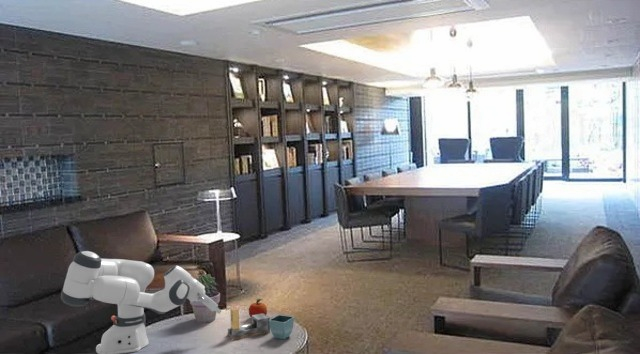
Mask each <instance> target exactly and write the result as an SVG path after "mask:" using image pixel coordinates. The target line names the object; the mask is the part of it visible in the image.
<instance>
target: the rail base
mask: <svg viewBox="0 0 640 354" xmlns="http://www.w3.org/2000/svg"><path fill="white" fill-rule="evenodd" d="M270 319H271V318H270V317H269V316H268V315H267V314H266V315H265V314H263V313H262V314H256V315H252V318H251V324H253V329H248V330H243V329H242V330H237V331H232V332H231V327H228V328H227V336H228V337H230V338H231V339H232V341H236V340H239V339H245V338H249V337H250V338H251V337H253V336H259V335H264V334H269V333H271V329H270V324H269V320H270Z"/></svg>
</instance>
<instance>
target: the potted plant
mask: <svg viewBox="0 0 640 354" xmlns="http://www.w3.org/2000/svg"><path fill="white" fill-rule="evenodd" d="M197 276H198V277H196V278H195V279H196V280H198V281H199V282H200V283H201V284H202V285H204V286H205V289H204V290H205V295H207V296H208V297H209V298H210V299H212V300H213V301H214V302H215V303H216V304H217V305H218V306H219V303H220V301H221V293H222V292H221V291H220V290H219V289H217V288H216V287H217V286H218V287H219V284H218V283H217V281H216V280H215V279H216V278H215V277H213V276H211V273H209V274H206V273H205V271H204V270H202V269H199V270H198V273H197ZM220 292H221V293H220ZM189 304H190V305H191V307H192V312H193V315H194V318H195V321H196V322H197V323H211V322H213V321H215V320H216V317H217V314H218V313H217V312H216V311H211V310H210V309H209V308H208V307H206V306H205V305H204V304H203V303H202V302H200V301H198V302H196V301H194V302H191V301H190V300H189Z"/></svg>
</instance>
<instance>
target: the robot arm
mask: <svg viewBox="0 0 640 354" xmlns="http://www.w3.org/2000/svg"><path fill="white" fill-rule="evenodd" d="M154 278H155V269H154V267H153V266H152V265H151V264H150V263H147V262H144V261H139V260H130V259H122V258H101V257H100V255H98V254H97V253H96V252H93V251H89V250H81V251H79V252H77V253H76V254H75V255H74V257H73V259H72V262H71V263H70V265H69V266H68V268H67V273H66V276H65V279H64V284H63V286H62V287H63V288H62V289H61V292H60V300H61V301H62V302H63V304H66V305H67V306H71V307H83V306H86V305H87V304H88V303H92V302H93V301H94V300H95V301H99V302H102V303H107V304H113V305H114V304H115V305H117V315H116V316H115V315H112V316H111V317H110V319H111V321H112V322H113V325H112V326H110V327H109V328H108V330H106V331H105V332H104V333H103V334H102V336H101V340H100V343H99V344H97V345H96V347H95V352H96V354H127V353H134V352H135V353H136V352H138V351H140V350H141V349H143V348H144V347H147V346H148V345H149V344H150V342H149V339H148V336H147V330H146V313H145V312H144V310H145V309H147V310H150V311H152V312H154V313H155V314H158V315H164V314H167V312H170V311H171V310H174V309H176V308H178V307H181V306H183V304H184V303H186V301H187V300H189V302H190V301H191V302H194V301H196V302H198V301H200V302H202V303H203V304H204V305H205V306H206V307H208V308H209V309H210V310H211V311H216V312H217V313H216V314H221V313H222V310H221V308H219V304H218V305H217V304H216V303H215V302H214V301H213V300H212V299H210V298H209V297H208V296H207V295H205V290H204V289H205V286H204V285H202V284H201V283H200V282H199V281H198V280H196V278H194V277H193V276H192V274H190V272H188V271H187V270H186V269H184V268H183V267H181V266H180V265H173V266H171V267H169V269H167V270H166V271H164V274H163V278H164V288H163V289H161V290H158V291H156V292H154V293H153V292H152V293H151V292H150V293H148V292H145V291H146V289H147V287H148V286H149V285H150V284H151V283H152V282H153V281H154Z"/></svg>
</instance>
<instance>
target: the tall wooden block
mask: <svg viewBox="0 0 640 354" xmlns="http://www.w3.org/2000/svg"><path fill="white" fill-rule="evenodd" d="M230 328H231V332H232V331H237V330H242V329H243V330H248V329H253V324H252V323H247V324H242V325H240V309H238V308H237V307H234V308H230Z"/></svg>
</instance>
